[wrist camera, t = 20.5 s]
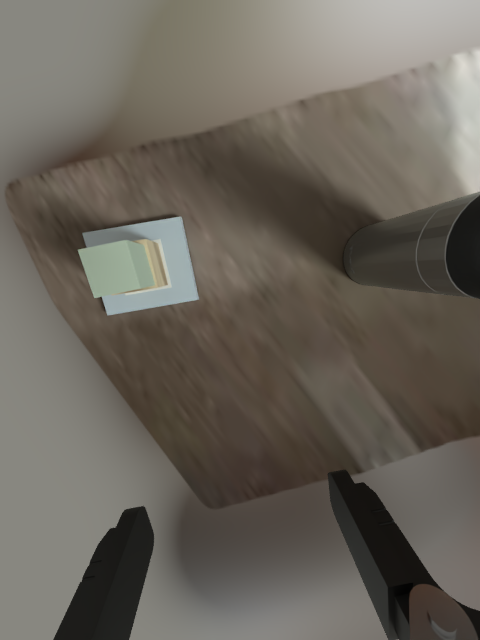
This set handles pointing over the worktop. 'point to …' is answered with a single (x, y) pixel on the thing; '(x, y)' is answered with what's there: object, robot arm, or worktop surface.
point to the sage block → (116, 267)
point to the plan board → (173, 259)
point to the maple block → (152, 265)
